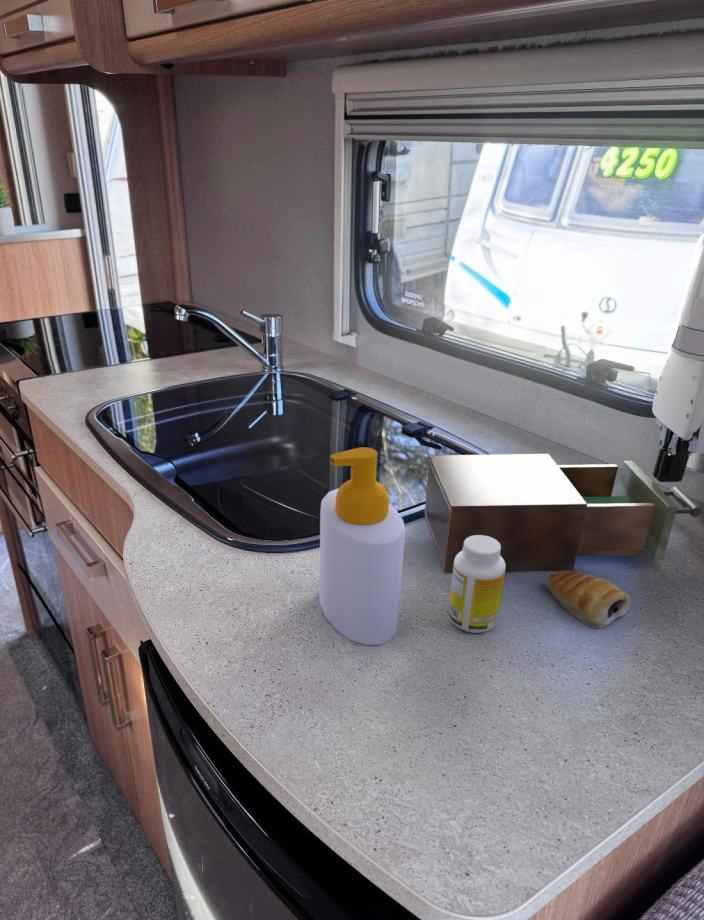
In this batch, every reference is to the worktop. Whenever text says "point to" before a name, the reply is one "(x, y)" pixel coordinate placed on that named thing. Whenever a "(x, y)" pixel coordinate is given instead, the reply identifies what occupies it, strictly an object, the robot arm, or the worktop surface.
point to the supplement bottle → (477, 585)
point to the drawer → (626, 511)
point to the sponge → (606, 500)
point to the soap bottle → (361, 553)
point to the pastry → (588, 597)
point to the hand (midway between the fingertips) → (666, 478)
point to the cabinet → (505, 509)
